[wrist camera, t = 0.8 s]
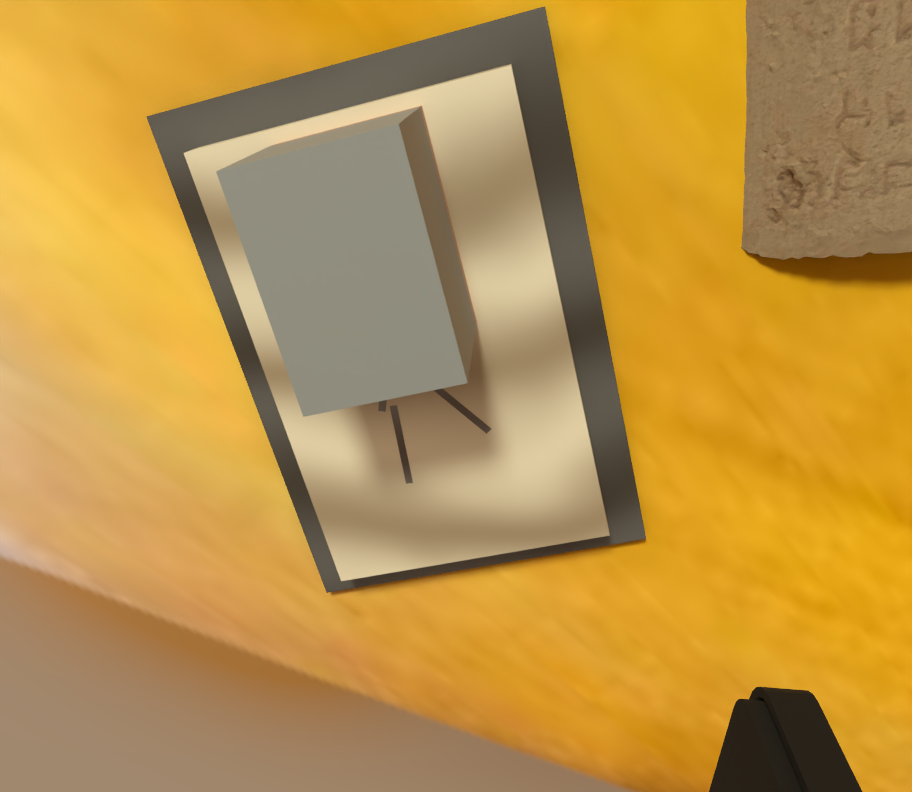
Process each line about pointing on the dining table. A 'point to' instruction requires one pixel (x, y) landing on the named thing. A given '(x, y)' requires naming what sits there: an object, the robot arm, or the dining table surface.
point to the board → (560, 215)
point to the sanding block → (356, 261)
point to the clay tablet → (828, 128)
